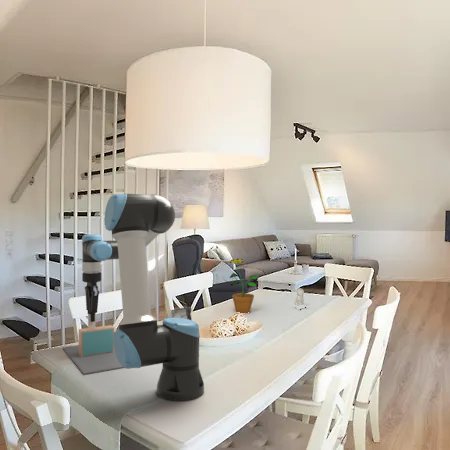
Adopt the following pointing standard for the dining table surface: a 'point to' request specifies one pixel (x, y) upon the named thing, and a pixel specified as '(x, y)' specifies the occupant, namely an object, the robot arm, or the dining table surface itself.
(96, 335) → the tan and teal block
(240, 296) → the potted plant
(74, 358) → the mat
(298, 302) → the seated beast figurine
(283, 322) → the dining table surface
